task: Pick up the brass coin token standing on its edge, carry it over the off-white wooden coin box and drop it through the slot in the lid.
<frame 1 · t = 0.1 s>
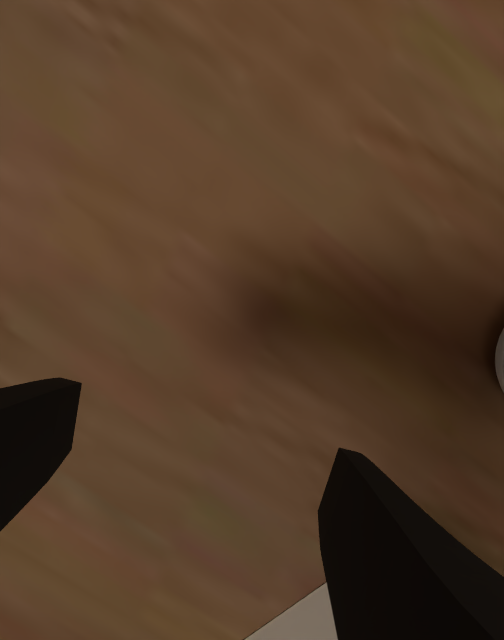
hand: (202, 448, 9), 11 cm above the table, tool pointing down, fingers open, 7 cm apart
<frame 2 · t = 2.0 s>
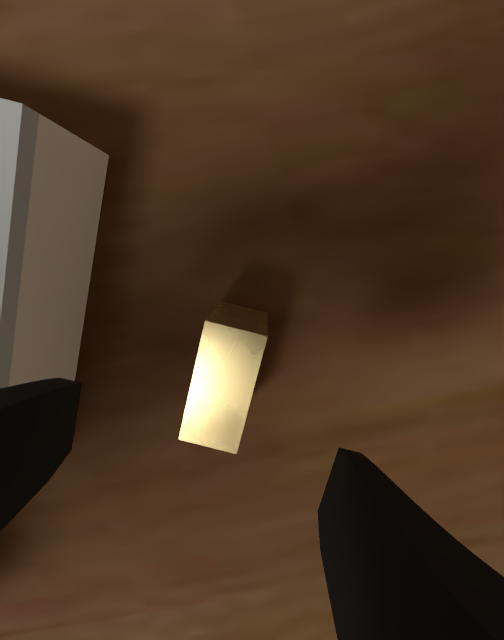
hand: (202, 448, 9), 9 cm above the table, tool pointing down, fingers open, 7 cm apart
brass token: (233, 352, 18), on the table
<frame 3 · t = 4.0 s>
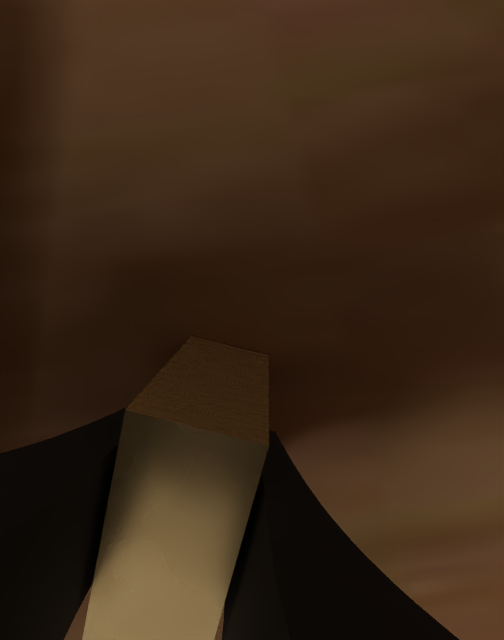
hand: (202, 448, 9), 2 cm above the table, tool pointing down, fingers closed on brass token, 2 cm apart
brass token: (212, 419, 11), on the table, touching gripper
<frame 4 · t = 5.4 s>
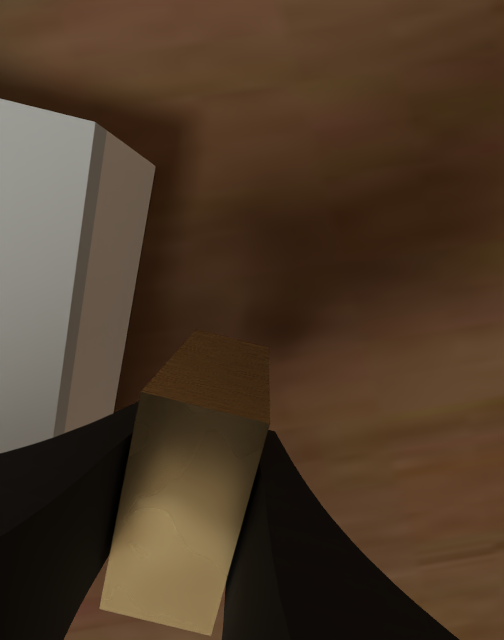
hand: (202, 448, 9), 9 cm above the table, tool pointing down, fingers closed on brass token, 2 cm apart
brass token: (215, 408, 12), point 7 cm above the table, touching gripper
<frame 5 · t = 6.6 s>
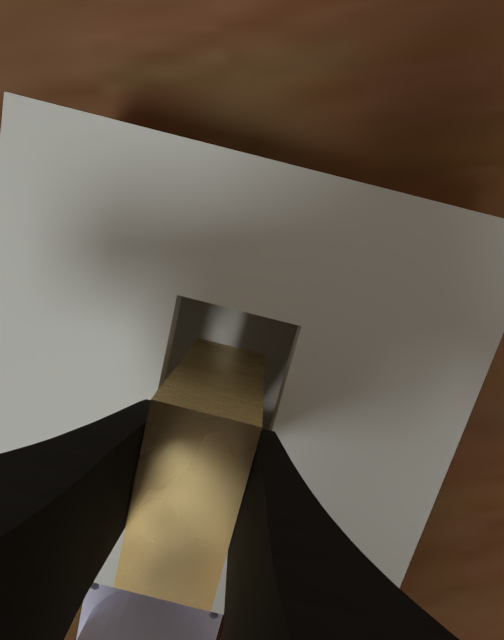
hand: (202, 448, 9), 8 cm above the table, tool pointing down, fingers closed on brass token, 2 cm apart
coin box: (232, 357, 18), on the table
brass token: (216, 410, 13), point 5 cm above the table, touching gripper
when the fingers open (8 cm above the table, at t = 7.2 s): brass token drops 4 cm, resting on coin box.
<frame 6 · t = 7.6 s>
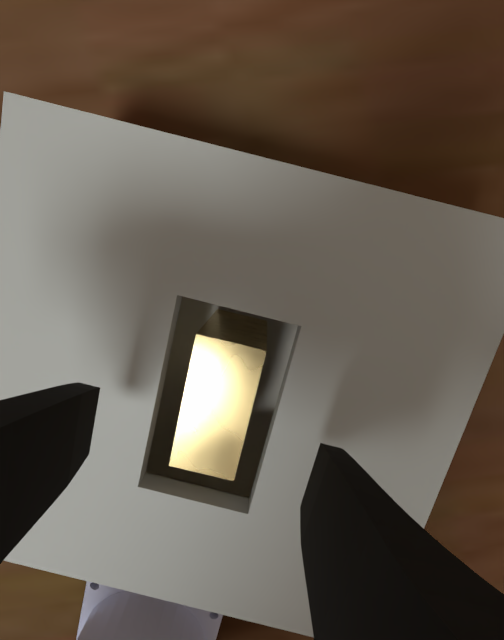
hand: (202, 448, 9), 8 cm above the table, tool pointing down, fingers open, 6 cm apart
coin box: (232, 357, 17), on the table
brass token: (230, 364, 17), point 1 cm above the table, touching coin box
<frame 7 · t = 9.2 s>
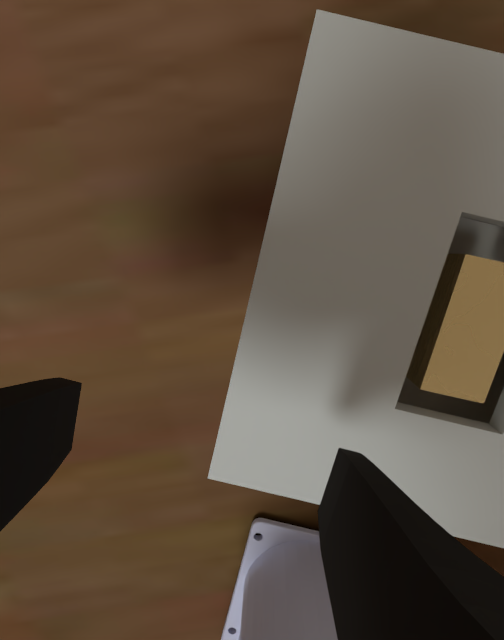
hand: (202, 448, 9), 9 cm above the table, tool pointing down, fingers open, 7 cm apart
coin box: (412, 303, 18), on the table
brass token: (416, 308, 17), point 1 cm above the table, touching coin box
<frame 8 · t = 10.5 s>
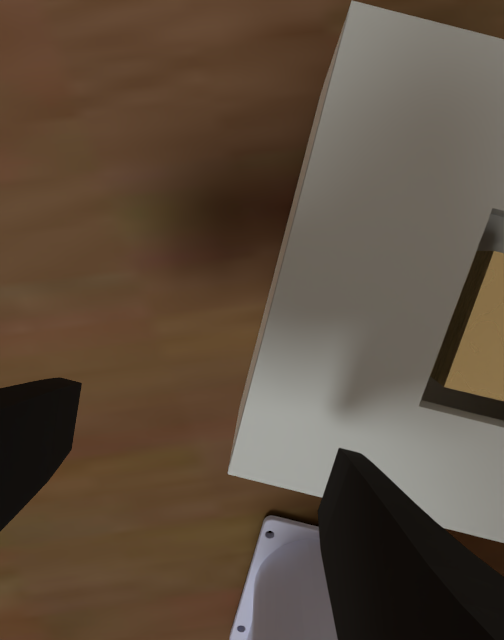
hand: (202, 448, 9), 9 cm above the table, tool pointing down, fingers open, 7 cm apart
coin box: (430, 301, 18), on the table
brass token: (434, 306, 17), point 1 cm above the table, touching coin box
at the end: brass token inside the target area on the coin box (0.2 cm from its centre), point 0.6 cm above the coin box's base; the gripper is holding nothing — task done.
